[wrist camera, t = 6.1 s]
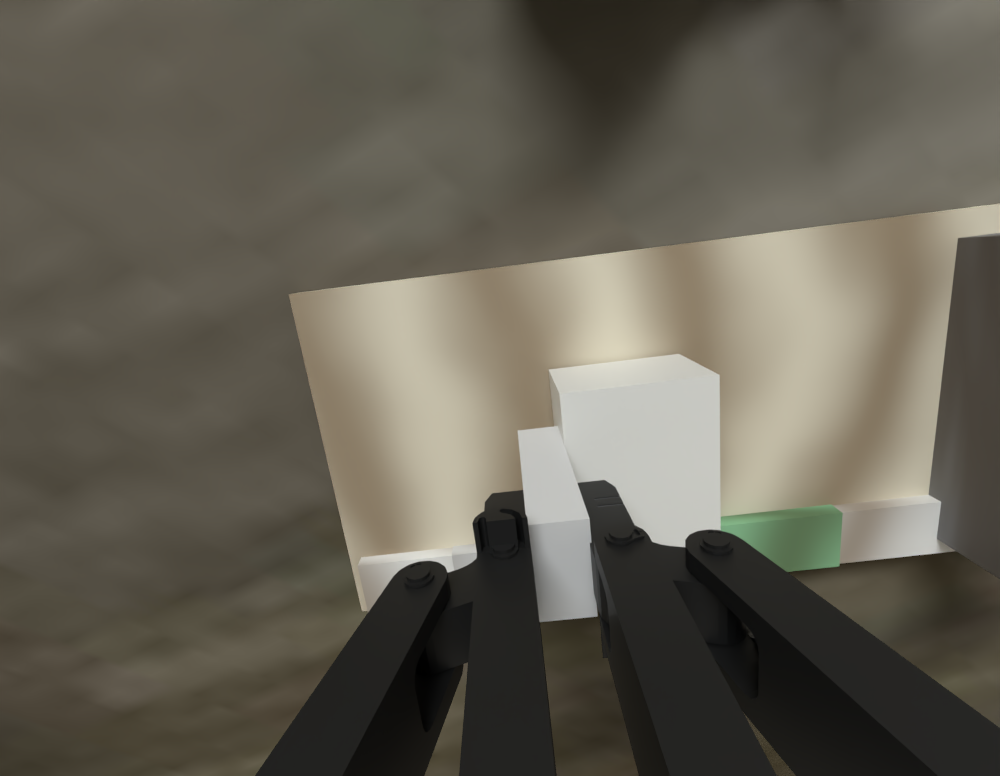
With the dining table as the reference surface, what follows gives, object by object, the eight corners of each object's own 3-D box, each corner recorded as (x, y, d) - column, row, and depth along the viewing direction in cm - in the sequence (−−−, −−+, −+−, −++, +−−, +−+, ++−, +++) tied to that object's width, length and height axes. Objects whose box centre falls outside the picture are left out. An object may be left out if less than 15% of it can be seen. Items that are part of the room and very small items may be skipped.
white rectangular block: (567, 565, 21) (581, 625, 17) (548, 369, 19) (559, 394, 15) (684, 552, 21) (720, 610, 17) (678, 353, 18) (719, 374, 15)
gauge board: (369, 593, 23) (312, 740, 16) (301, 292, 19) (188, 310, 12) (978, 527, 22) (1202, 652, 15) (1026, 200, 18) (1350, 163, 11)
